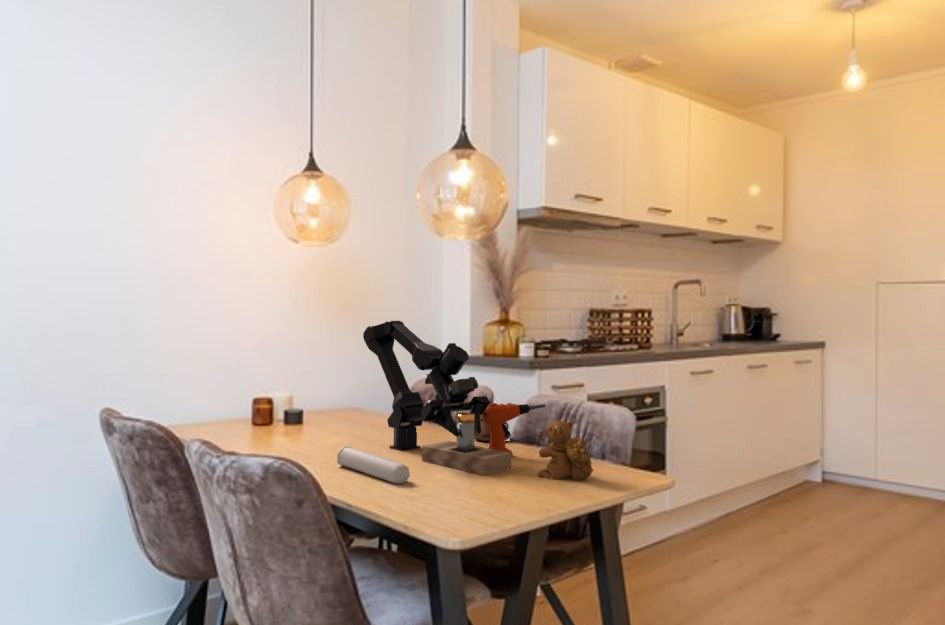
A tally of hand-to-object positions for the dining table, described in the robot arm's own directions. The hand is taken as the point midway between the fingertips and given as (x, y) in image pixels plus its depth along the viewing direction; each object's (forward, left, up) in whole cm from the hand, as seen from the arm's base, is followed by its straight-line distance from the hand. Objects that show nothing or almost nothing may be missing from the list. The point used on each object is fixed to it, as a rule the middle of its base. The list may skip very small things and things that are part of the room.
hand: (469, 434), depth 174 cm
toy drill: (0, +18, -8) cm, 20 cm away
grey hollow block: (-1, 0, -8) cm, 8 cm away
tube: (-10, -23, -9) cm, 26 cm away
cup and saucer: (-20, +31, -8) cm, 38 cm away
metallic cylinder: (-1, 0, -8) cm, 8 cm away
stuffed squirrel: (+24, +9, -8) cm, 27 cm away
